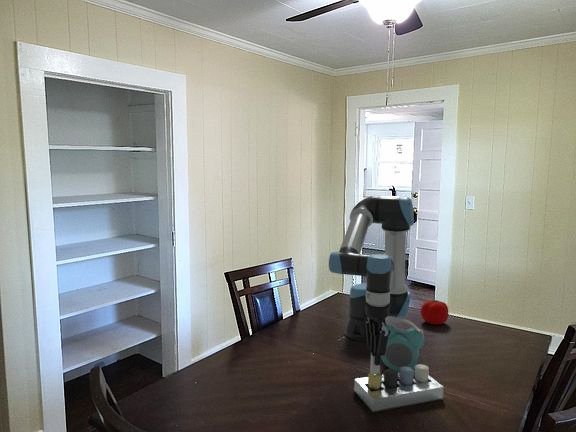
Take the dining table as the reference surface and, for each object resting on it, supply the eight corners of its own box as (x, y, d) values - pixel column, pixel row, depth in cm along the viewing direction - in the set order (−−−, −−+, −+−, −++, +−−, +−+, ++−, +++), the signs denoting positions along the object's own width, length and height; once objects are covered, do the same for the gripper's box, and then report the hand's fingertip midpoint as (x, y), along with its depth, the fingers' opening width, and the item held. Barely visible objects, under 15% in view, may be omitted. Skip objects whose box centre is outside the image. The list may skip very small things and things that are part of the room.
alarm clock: (423, 366, 165) (425, 316, 162) (422, 377, 156) (424, 325, 153) (377, 359, 170) (379, 310, 168) (374, 369, 161) (376, 319, 159)
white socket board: (354, 391, 146) (354, 379, 145) (419, 380, 154) (420, 368, 153) (372, 412, 134) (373, 399, 133) (442, 399, 141) (443, 386, 141)
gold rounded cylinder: (365, 389, 142) (365, 372, 141) (376, 387, 143) (377, 370, 143) (371, 396, 138) (372, 378, 137) (383, 394, 139) (384, 376, 138)
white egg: (411, 381, 147) (412, 365, 147) (422, 379, 149) (423, 363, 148) (419, 388, 143) (420, 371, 142) (430, 386, 145) (431, 369, 144)
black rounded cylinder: (381, 386, 144) (381, 370, 143) (392, 385, 145) (393, 368, 144) (388, 393, 140) (388, 376, 139) (399, 391, 141) (400, 374, 140)
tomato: (452, 328, 203) (453, 304, 202) (423, 327, 204) (425, 304, 202) (443, 318, 216) (444, 296, 214) (416, 318, 216) (417, 296, 214)
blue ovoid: (396, 384, 146) (397, 367, 145) (407, 382, 147) (408, 365, 146) (403, 390, 141) (404, 373, 141) (415, 388, 143) (416, 371, 142)
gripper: (357, 298, 142) (355, 365, 145) (377, 310, 130) (374, 384, 132) (377, 296, 144) (375, 362, 147) (398, 308, 132) (395, 380, 135)
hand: (374, 372), depth 140 cm, fingers closed
